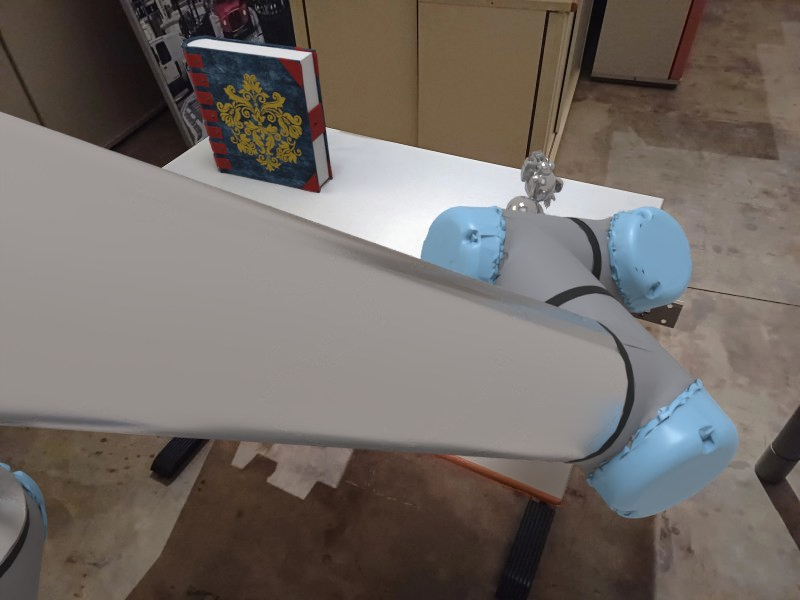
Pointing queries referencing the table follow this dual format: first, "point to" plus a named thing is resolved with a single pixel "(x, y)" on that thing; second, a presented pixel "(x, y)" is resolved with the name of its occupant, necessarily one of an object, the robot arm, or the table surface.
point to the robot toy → (537, 184)
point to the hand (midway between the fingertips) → (416, 320)
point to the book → (261, 109)
